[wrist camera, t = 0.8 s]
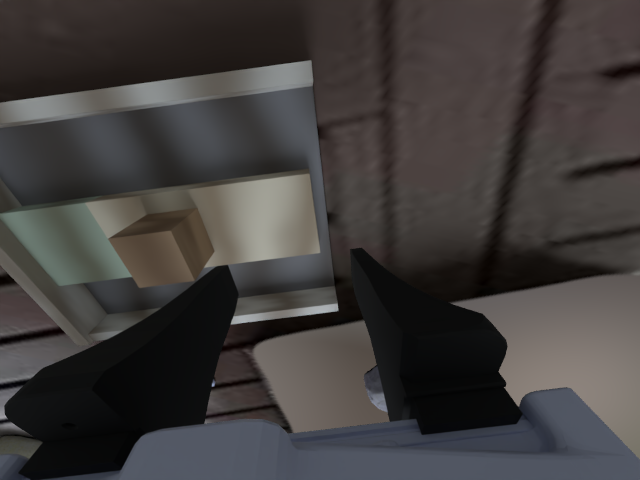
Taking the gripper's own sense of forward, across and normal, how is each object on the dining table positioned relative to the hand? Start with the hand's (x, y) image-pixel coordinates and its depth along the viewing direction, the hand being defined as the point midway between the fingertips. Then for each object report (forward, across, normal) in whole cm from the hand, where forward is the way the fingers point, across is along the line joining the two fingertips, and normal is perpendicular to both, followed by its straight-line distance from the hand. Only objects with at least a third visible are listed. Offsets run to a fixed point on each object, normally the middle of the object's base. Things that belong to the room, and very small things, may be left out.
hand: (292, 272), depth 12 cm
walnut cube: (+7, +10, 0) cm, 12 cm away
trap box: (+9, +12, 0) cm, 15 cm away
